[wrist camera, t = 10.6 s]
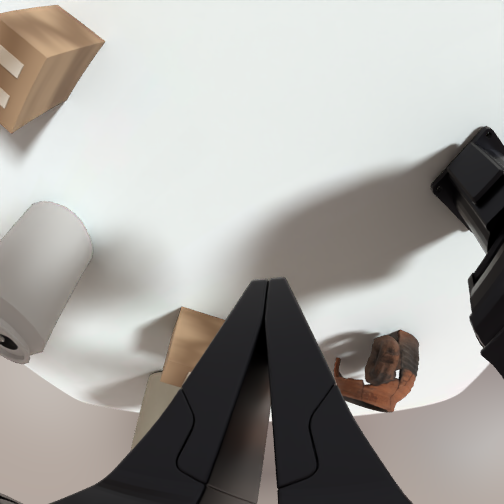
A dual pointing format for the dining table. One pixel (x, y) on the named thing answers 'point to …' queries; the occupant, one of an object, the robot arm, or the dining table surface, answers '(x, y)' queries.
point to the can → (39, 276)
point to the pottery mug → (383, 373)
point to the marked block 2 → (188, 344)
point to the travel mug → (153, 405)
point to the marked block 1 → (40, 61)
